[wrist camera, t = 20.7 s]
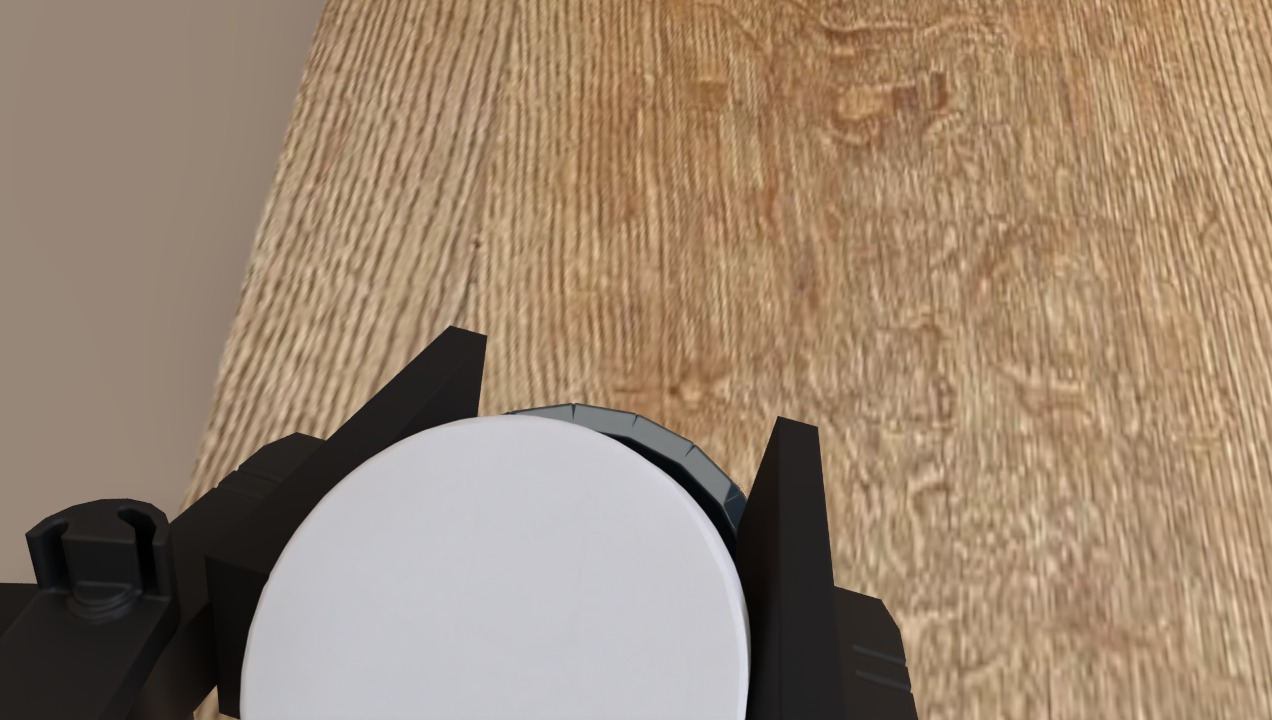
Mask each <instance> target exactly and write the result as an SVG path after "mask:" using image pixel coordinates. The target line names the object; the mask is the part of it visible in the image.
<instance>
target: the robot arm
mask: <svg viewBox="0 0 1272 720" xmlns="http://www.w3.org/2000/svg"><path fill="white" fill-rule="evenodd" d="M486 343H487V336H486V335H483V334H479V333H475V332H472V331H468V330H465V329H461V328H457V327H454V326H449V327H448V328H447V329H446V330H445V331H444V332H443V333H441V334H440V335H439V336H438V337H437V338H436V339H435V340H434V341H433V342H432V343H431V344H430V345H429V346H427V347H426V348H425V349H424V350H423V351H422V352H421V353H420V354H419V355H418V356H417V357H416V358H415V359H413V360H412V361H411V362H410V363H409V364H408V365H407V366H406V367H405V368H404V369H403V370H402V371H401V372H400V373H398V374H397V375H396V376H395V377H394V378H393V379H392V380H391V381H390V382H389V383H388V384H387V385H386V386H384V387H383V388H382V389H381V390H380V391H379V392H378V393H377V394H376V395H375V396H374V397H373V398H372V399H370V400H369V401H368V402H367V403H366V404H365V405H364V406H363V407H362V408H361V409H360V410H359V411H358V412H356V413H355V414H354V415H353V416H352V417H351V418H350V419H349V420H348V421H347V422H346V423H345V424H344V425H342V426H341V427H340V428H339V429H338V430H337V431H336V432H335V433H334V434H333V435H332V436H331V437H330V438H329V439H327V440H322V439H319V438H315V437H312V436H308V435H305V434H301V433H298V432H296V433H293V434H291V435H289V436H286V437H284V438H281V439H279V440H277V441H274V442H272V443H270V444H267V445H265V446H263V447H262V448H260V449H259V450H258V451H257V452H256V453H254V454H253V455H252V456H251V457H250V458H248V459H247V460H246V461H245V462H244V463H242V464H241V465H240V466H239V468H238V470H237V471H235V470H234V471H233V472H231V473H230V474H229V475H228V476H227V477H225V478H224V479H223V480H222V481H221V482H219V484H218V487H217V488H214V487H213V488H212V489H211V490H210V491H208V492H207V493H206V494H205V495H204V496H202V497H201V498H200V499H199V500H198V501H196V502H195V503H194V504H193V505H191V506H190V507H189V508H188V509H187V510H185V511H184V512H183V513H182V514H181V515H179V516H178V517H177V518H176V519H175V520H173V521H172V522H171V523H170V524H169V523H168V520H167V517H166V514H165V513H164V512H162V511H161V510H159V509H158V508H156V507H155V506H154V505H152V504H150V503H146V502H142V501H137V500H133V499H100V500H96V501H92V502H87V503H83V504H79V505H75V506H71V507H69V508H67V509H65V510H62V511H60V512H58V513H56V514H54V515H51V516H49V517H47V518H45V519H44V520H42V521H41V522H40V523H39V524H37V525H36V526H35V527H33V528H32V529H31V530H30V531H28V532H27V533H26V534H25V536H26V539H27V543H28V548H29V551H30V555H31V560H32V564H33V567H34V572H35V575H36V579H37V584H23V583H21V584H20V583H0V720H194V714H193V712H194V711H195V710H196V708H197V707H198V706H199V705H200V704H201V703H202V701H203V700H204V699H205V698H206V697H207V695H208V694H209V693H210V692H211V691H212V690H213V688H214V687H215V686H216V685H217V692H218V702H219V712H220V713H221V714H224V715H227V716H230V717H234V718H237V719H240V692H241V674H242V666H243V660H244V655H245V650H246V644H247V639H248V634H249V629H250V626H251V623H252V620H253V617H254V614H255V611H256V608H257V605H258V602H259V599H260V596H261V593H262V590H263V588H264V586H265V584H266V583H267V581H268V580H269V576H270V573H271V571H272V570H273V568H274V566H275V564H276V562H277V561H278V559H279V557H280V555H281V553H282V552H283V550H284V548H285V546H286V545H287V543H288V542H289V540H290V539H291V537H292V536H293V534H294V533H295V531H296V530H297V528H298V527H299V526H300V525H301V524H302V522H303V521H304V520H305V519H306V517H307V516H308V515H309V514H310V512H311V511H312V510H313V509H314V508H315V506H316V505H317V504H318V503H319V502H320V501H321V499H322V498H323V497H324V496H325V495H326V494H327V493H328V492H329V491H330V490H331V489H333V488H334V487H335V486H336V485H337V484H338V483H339V482H340V481H341V480H342V479H344V478H345V477H346V476H347V475H348V474H350V473H351V472H352V471H353V470H355V469H356V468H357V467H359V466H360V465H361V464H363V463H364V462H365V461H367V460H368V459H370V458H371V457H373V456H375V455H376V454H378V453H380V452H381V451H383V450H385V449H386V448H388V447H390V446H391V445H393V444H395V443H397V442H399V441H401V440H403V439H405V438H408V437H410V436H412V435H415V434H417V433H419V432H421V431H424V430H427V429H430V428H433V427H437V426H440V425H443V424H447V423H450V422H454V421H458V420H461V419H468V418H475V417H477V415H478V407H479V399H480V391H481V383H482V375H483V367H484V359H485V351H486ZM735 568H736V571H737V574H738V576H739V579H740V583H741V586H742V590H743V593H744V597H745V602H746V606H747V610H748V617H749V625H750V635H751V674H750V683H749V690H748V697H747V705H746V715H745V720H918V717H917V712H916V707H915V702H914V697H913V694H912V693H910V690H911V683H910V678H909V673H908V668H907V667H905V663H906V658H905V653H904V648H903V644H902V639H901V634H900V630H899V628H898V626H897V625H896V623H895V622H894V620H893V618H892V617H891V615H890V614H889V612H888V610H887V609H886V607H885V606H884V604H883V602H882V601H881V599H877V598H874V597H870V596H867V595H863V594H860V593H857V592H853V591H850V590H846V589H843V588H839V587H836V586H834V579H833V570H832V560H831V550H830V541H829V531H828V521H827V512H826V502H825V493H824V483H823V473H822V464H821V454H820V444H819V435H818V427H816V426H813V425H809V424H805V423H802V422H798V421H794V420H791V419H787V418H784V417H780V416H778V417H777V420H776V423H775V425H774V428H773V431H772V434H771V437H770V439H769V442H768V445H767V448H766V450H765V453H764V456H763V459H762V462H761V464H760V467H759V470H758V473H757V475H756V478H755V481H754V484H753V487H752V489H751V492H750V495H749V498H748V500H747V503H746V506H745V509H744V511H743V514H742V517H741V520H740V523H739V525H738V533H737V546H736V560H735Z"/></svg>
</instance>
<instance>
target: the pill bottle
mask: <svg viewBox="0 0 1272 720" xmlns="http://www.w3.org/2000/svg"><path fill="white" fill-rule="evenodd" d="M750 674H751V635H750V625H749V617H748V610H747V606H746V602H745V597H744V593H743V590H742V586H741V583H740V579H739V576H738V574H737V571H736V568H735V565H734V563H733V561H732V559H731V556H730V554H729V552H728V550H727V548H726V546H725V544H724V542H723V541H722V539H721V537H720V535H719V533H718V531H717V529H716V528H715V527H714V525H713V524H712V522H711V521H710V519H709V518H708V516H707V515H706V514H705V512H704V511H703V510H702V509H701V507H700V506H699V505H698V504H697V503H696V501H695V500H694V499H693V498H692V497H691V496H690V495H689V494H688V493H687V491H686V490H685V489H684V488H683V487H681V486H680V485H679V484H678V483H677V482H676V481H675V480H673V479H672V478H671V477H670V476H669V475H667V474H666V473H665V472H664V471H662V470H661V469H660V468H658V467H657V466H655V465H653V464H652V463H650V462H649V461H648V460H646V459H645V458H643V457H642V456H641V455H639V454H638V453H636V452H635V451H633V450H631V449H630V448H628V447H626V446H625V445H623V444H621V443H620V442H618V441H616V440H614V439H612V438H610V437H608V436H605V435H603V434H601V433H598V432H596V431H593V430H591V429H589V428H586V427H584V426H581V425H577V424H573V423H569V422H566V421H562V420H556V419H550V418H545V417H539V416H531V415H492V416H482V417H475V418H468V419H461V420H458V421H454V422H450V423H447V424H443V425H440V426H437V427H433V428H430V429H427V430H424V431H421V432H419V433H417V434H415V435H412V436H410V437H408V438H405V439H403V440H401V441H399V442H397V443H395V444H393V445H391V446H390V447H388V448H386V449H385V450H383V451H381V452H380V453H378V454H376V455H375V456H373V457H371V458H370V459H368V460H367V461H365V462H364V463H363V464H361V465H360V466H359V467H357V468H356V469H355V470H353V471H352V472H351V473H350V474H348V475H347V476H346V477H345V478H344V479H342V480H341V481H340V482H339V483H338V484H337V485H336V486H335V487H334V488H333V489H331V490H330V491H329V492H328V493H327V494H326V495H325V496H324V497H323V498H322V499H321V501H320V502H319V503H318V504H317V505H316V506H315V508H314V509H313V510H312V511H311V512H310V514H309V515H308V516H307V517H306V519H305V520H304V521H303V522H302V524H301V525H300V526H299V527H298V528H297V530H296V531H295V533H294V534H293V536H292V537H291V539H290V540H289V542H288V543H287V545H286V546H285V548H284V550H283V552H282V553H281V555H280V557H279V559H278V561H277V562H276V564H275V566H274V568H273V570H272V571H271V573H270V576H269V580H268V581H267V583H266V584H265V586H264V588H263V590H262V593H261V596H260V599H259V602H258V605H257V608H256V611H255V614H254V617H253V620H252V623H251V626H250V629H249V634H248V639H247V644H246V650H245V655H244V660H243V666H242V674H241V692H240V720H745V715H746V705H747V697H748V690H749V683H750Z"/></svg>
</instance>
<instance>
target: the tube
mask: <svg viewBox="0 0 1272 720" xmlns="http://www.w3.org/2000/svg"><path fill="white" fill-rule="evenodd" d="M502 415H531V416H539V417H545V418H550V419H556V420H562V421H566V422H569V423H573V424H577V425H581V426H584V427H586V428H589V429H591V430H593V431H596V432H598V433H601V434H603V435H605V436H608V437H610V438H612V439H614V440H616V441H618V442H620V443H621V444H623V445H625V446H626V447H628V448H630V449H631V450H633V451H635V452H636V453H638V454H639V455H641V456H642V457H643V458H645V459H646V460H648V461H649V462H650V463H652V464H653V465H655V466H657V467H658V468H660V469H661V470H662V471H664V472H665V473H666V474H667V475H669V476H670V477H671V478H672V479H673V480H675V481H676V482H677V483H678V484H679V485H680V486H681V487H683V488H684V489H685V490H686V491H687V493H688V494H689V495H690V496H691V497H692V498H693V499H694V500H695V501H696V503H697V504H698V505H699V506H700V507H701V509H702V510H703V511H704V512H705V514H706V515H707V516H708V518H709V519H710V521H711V522H712V524H713V525H714V527H715V528H716V529H717V531H718V533H719V535H720V537H721V539H722V541H723V542H724V544H725V546H726V548H727V550H728V552H729V554H730V556H731V559H732V561H733V563H734V565H735V560H736V546H737V533H738V525H739V523H740V520H741V517H742V514H743V511H744V509H745V506H746V503H747V498H746V497H745V495H744V493H743V492H742V491H741V492H740V488H739V487H738V486H737V485H736V484H735V483H734V482H733V481H732V480H731V479H730V478H729V477H728V476H727V475H726V474H725V473H724V472H723V471H722V470H721V469H720V468H719V467H718V466H717V465H716V464H715V463H714V462H713V461H712V460H711V459H710V458H709V457H708V456H707V455H706V454H705V453H704V452H703V451H702V450H701V449H700V448H699V447H698V446H697V445H693V444H694V443H693V442H692V441H690V440H688V439H686V438H684V437H682V436H680V435H678V434H676V433H674V432H672V431H670V430H668V429H667V428H665V427H663V426H661V425H659V424H657V423H655V422H653V421H651V420H649V419H647V418H645V417H643V416H641V415H636V414H635V413H632V412H626V411H621V410H615V409H609V408H603V407H597V406H591V405H586V404H580V403H575V404H572V403H567V404H560V405H553V406H545V407H538V408H530V409H523V410H515V411H512V412H511V413H510V412H507V413H504V414H502Z"/></svg>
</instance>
